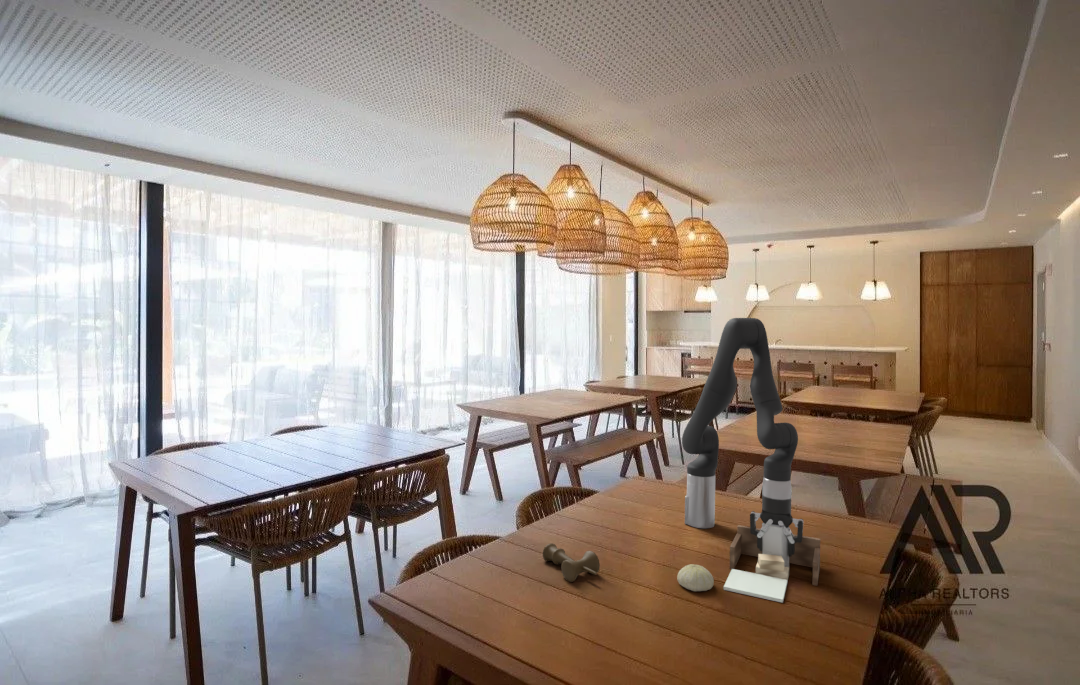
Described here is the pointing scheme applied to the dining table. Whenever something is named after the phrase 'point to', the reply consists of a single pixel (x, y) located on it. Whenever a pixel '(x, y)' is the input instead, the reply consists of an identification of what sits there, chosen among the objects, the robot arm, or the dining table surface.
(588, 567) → the kendama
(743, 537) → the screen
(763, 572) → the offcut low
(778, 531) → the skincare box
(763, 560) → the offcut top
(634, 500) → the dining table surface
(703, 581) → the sea urchin shell
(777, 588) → the plate
